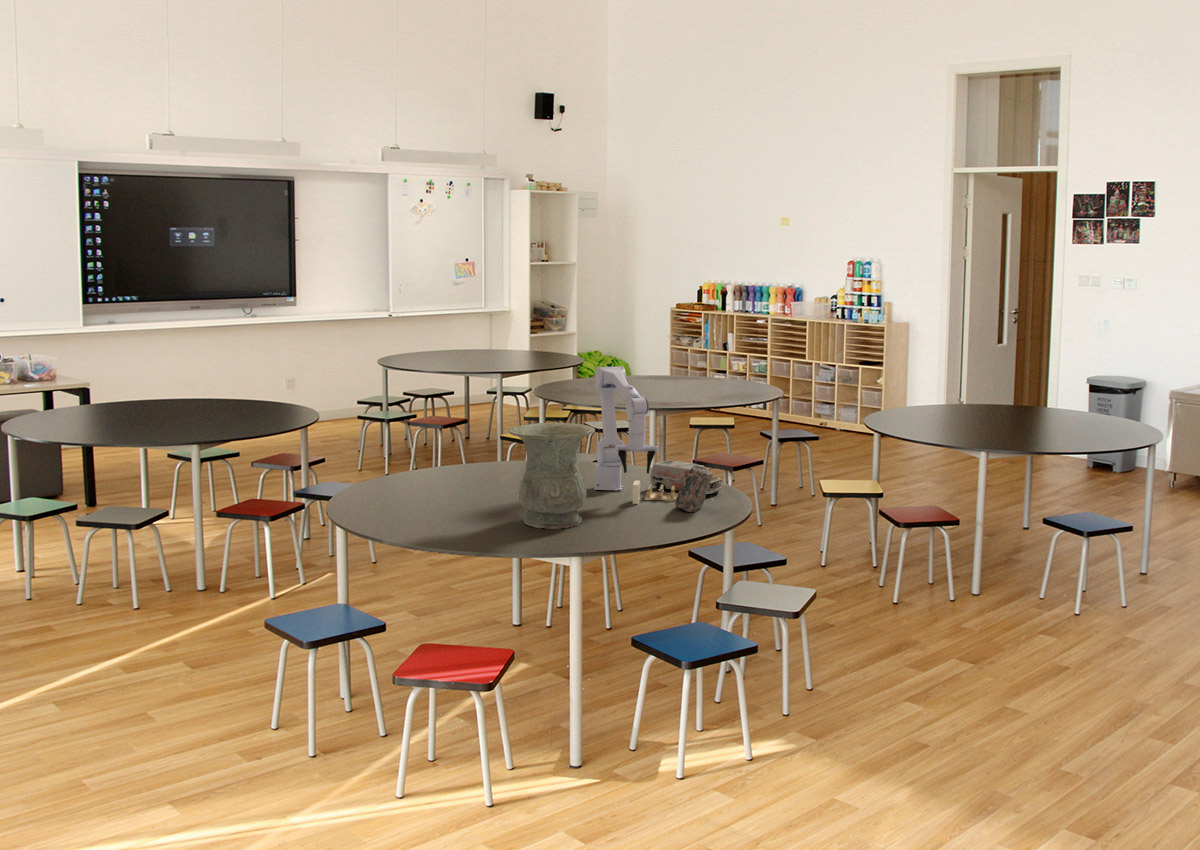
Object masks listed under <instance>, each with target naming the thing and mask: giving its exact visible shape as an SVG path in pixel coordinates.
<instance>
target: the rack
mask: <svg viewBox="0 0 1200 850" xmlns="http://www.w3.org/2000/svg"><path fill="white" fill-rule="evenodd" d="M663 490H664V485H663V484H661V487H660V491H657V492H656V491H655V492H654V491H653V486H652V484H650V483H649V486H648V488H647V492H646V493H645V495H644V500H645V499H648V500H669V501H668V502H675V501H676V499H677V495H678V492H676V490H675V485H673V486H672V489H670V490H671V491H670V492H663Z"/></svg>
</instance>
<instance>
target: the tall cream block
mask: <svg viewBox="0 0 1200 850" xmlns="http://www.w3.org/2000/svg"><path fill="white" fill-rule="evenodd" d="M639 500H640V501H641V480H634V482H633V484H632V504H633V503H636V504H638V503H639V504H640V502H639ZM639 504H638V505H639Z"/></svg>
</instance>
